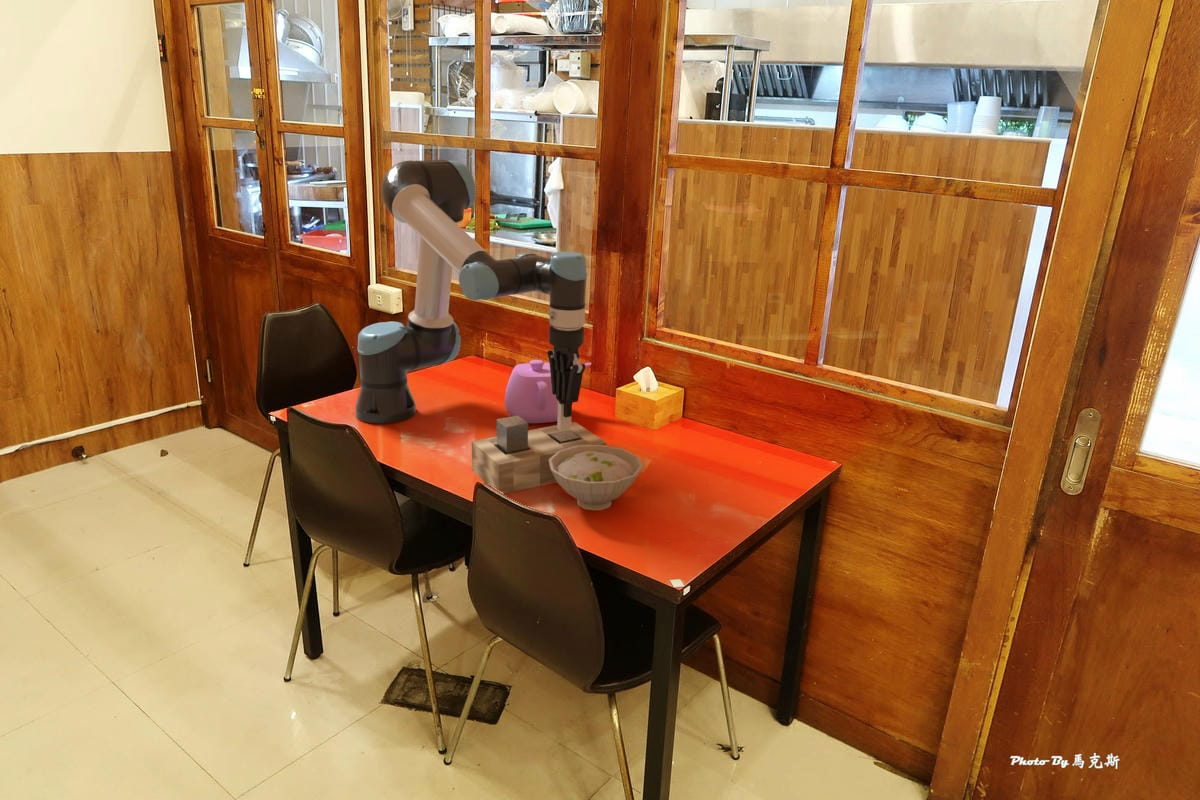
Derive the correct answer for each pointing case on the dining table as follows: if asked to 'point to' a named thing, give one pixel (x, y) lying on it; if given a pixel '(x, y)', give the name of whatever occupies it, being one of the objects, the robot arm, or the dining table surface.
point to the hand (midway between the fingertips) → (564, 428)
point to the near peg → (512, 435)
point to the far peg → (564, 437)
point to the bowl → (595, 473)
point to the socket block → (524, 459)
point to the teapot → (532, 393)
